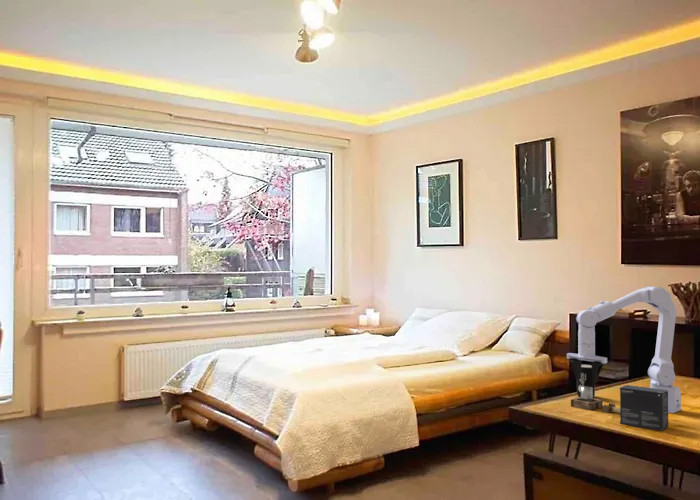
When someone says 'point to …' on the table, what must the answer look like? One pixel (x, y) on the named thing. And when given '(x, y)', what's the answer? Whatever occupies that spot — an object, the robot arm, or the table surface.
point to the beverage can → (585, 379)
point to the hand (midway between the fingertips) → (586, 380)
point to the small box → (644, 407)
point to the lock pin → (615, 409)
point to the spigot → (586, 394)
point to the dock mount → (590, 404)
